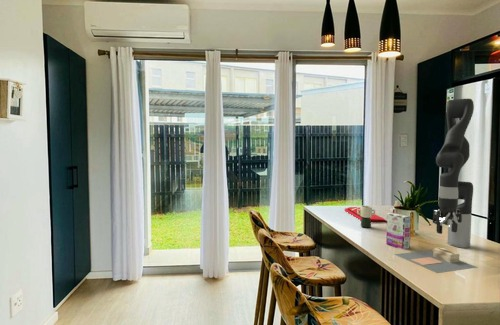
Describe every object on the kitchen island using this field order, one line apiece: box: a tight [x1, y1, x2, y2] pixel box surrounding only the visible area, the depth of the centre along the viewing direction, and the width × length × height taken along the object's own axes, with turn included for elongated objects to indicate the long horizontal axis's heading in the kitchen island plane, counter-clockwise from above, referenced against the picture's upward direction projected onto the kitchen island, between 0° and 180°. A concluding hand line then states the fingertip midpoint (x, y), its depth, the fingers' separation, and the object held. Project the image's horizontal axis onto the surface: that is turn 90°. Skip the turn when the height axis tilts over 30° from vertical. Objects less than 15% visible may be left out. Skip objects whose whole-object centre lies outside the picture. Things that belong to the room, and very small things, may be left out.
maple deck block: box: [432, 247, 460, 263], centre depth 151 cm, size 9×5×4 cm, turn 18°
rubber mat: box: [394, 249, 478, 274], centre depth 149 cm, size 24×22×1 cm
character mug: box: [357, 205, 376, 228], centre depth 211 cm, size 11×7×13 cm, turn 82°
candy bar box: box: [386, 212, 412, 250], centre depth 170 cm, size 11×5×16 cm, turn 23°
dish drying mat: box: [344, 206, 387, 222], centre depth 243 cm, size 16×41×4 cm, turn 3°
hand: (446, 232), depth 150 cm, fingers open, 8 cm apart
